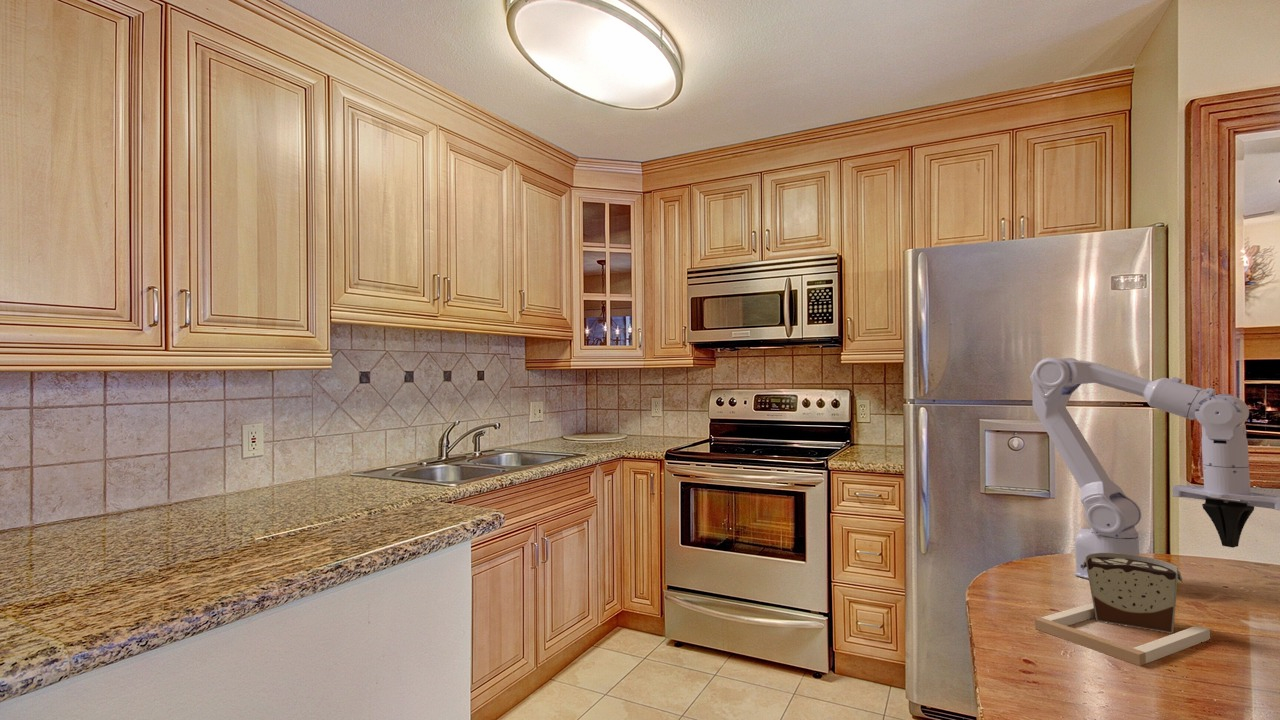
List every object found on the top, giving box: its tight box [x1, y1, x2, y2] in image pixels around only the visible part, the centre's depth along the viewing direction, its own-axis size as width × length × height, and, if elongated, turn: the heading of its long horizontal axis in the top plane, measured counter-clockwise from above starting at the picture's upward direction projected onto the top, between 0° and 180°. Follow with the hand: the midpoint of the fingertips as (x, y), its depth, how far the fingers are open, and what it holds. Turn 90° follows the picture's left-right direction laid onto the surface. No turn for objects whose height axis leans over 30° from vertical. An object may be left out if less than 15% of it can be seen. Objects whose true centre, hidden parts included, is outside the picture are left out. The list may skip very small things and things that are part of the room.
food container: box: [1082, 553, 1184, 634], centre depth 97 cm, size 12×6×10 cm, turn 55°
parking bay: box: [1034, 602, 1211, 667], centre depth 92 cm, size 14×18×2 cm
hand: (1230, 546), depth 103 cm, fingers closed
